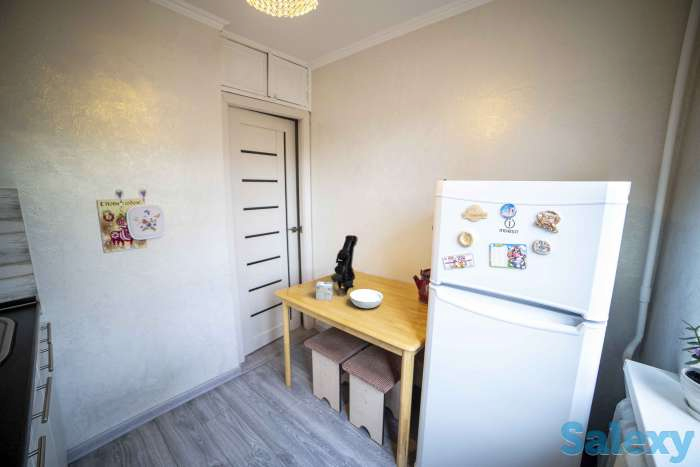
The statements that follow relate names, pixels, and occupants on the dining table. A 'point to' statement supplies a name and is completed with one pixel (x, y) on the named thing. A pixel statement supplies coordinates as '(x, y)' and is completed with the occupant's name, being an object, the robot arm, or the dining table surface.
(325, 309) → the dining table surface
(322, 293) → the light bulb box
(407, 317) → the dining table surface
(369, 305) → the serving bowl
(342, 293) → the walnut block
